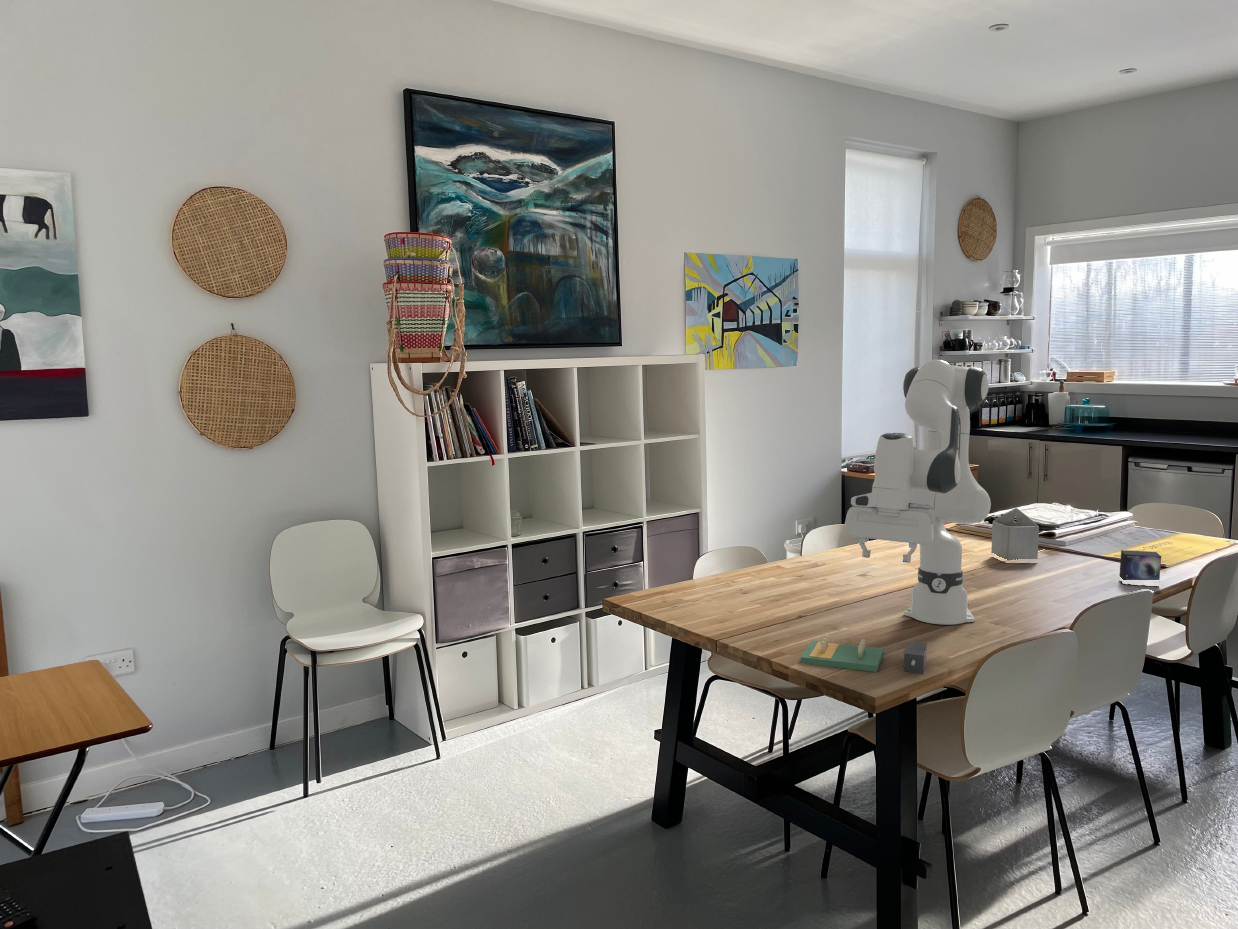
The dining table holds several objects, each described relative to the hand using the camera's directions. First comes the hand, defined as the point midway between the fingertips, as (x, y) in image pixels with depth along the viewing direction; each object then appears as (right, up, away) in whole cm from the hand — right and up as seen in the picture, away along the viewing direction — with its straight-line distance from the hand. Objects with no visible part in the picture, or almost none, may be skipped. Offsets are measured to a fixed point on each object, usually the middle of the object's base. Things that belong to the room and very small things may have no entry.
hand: (886, 559), depth 211 cm
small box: (+106, -17, +81) cm, 135 cm away
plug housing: (+8, -26, +4) cm, 28 cm away
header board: (-8, -26, +11) cm, 29 cm away
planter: (+79, -13, +115) cm, 140 cm away
